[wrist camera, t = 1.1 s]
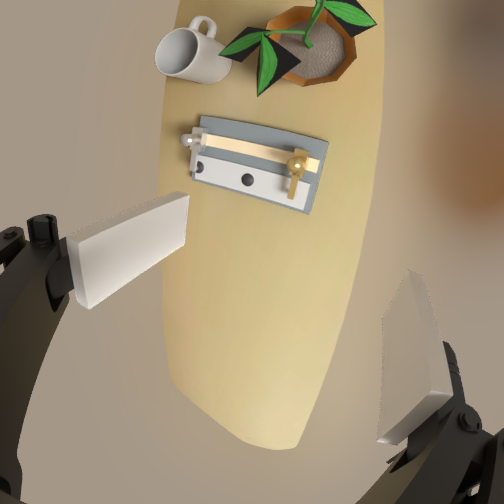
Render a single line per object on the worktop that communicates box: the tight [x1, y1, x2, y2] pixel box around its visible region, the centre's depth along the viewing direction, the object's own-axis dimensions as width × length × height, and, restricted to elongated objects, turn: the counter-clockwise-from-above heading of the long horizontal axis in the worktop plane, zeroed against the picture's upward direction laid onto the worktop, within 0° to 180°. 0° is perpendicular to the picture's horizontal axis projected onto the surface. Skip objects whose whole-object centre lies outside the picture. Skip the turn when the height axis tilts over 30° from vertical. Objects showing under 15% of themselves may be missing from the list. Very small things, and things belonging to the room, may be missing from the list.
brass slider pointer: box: [286, 148, 311, 200], centre depth 39 cm, size 8×2×5 cm, turn 168°
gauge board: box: [192, 116, 329, 215], centre depth 44 cm, size 12×22×3 cm, turn 78°
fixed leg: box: [180, 127, 208, 172], centre depth 43 cm, size 8×2×5 cm, turn 168°
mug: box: [155, 15, 232, 84], centre depth 35 cm, size 12×8×11 cm
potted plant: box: [218, 0, 377, 97], centre depth 22 cm, size 18×19×30 cm
